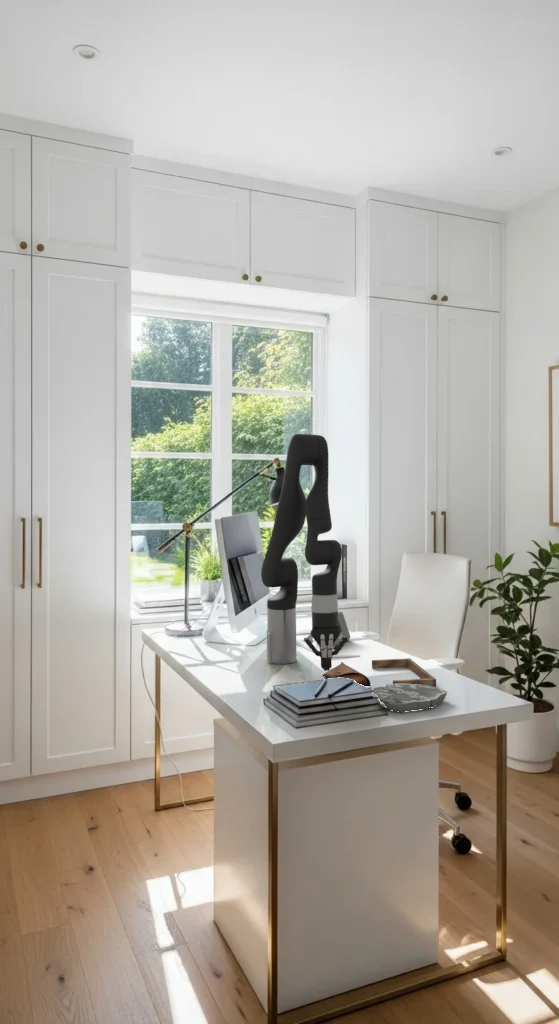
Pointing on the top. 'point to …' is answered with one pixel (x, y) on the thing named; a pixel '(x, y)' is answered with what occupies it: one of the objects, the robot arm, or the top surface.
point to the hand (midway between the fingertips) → (326, 669)
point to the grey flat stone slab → (409, 696)
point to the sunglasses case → (347, 674)
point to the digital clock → (342, 627)
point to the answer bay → (401, 663)
